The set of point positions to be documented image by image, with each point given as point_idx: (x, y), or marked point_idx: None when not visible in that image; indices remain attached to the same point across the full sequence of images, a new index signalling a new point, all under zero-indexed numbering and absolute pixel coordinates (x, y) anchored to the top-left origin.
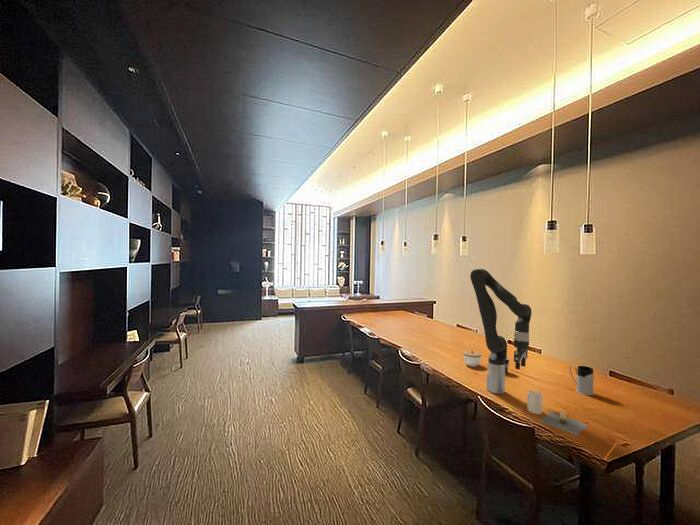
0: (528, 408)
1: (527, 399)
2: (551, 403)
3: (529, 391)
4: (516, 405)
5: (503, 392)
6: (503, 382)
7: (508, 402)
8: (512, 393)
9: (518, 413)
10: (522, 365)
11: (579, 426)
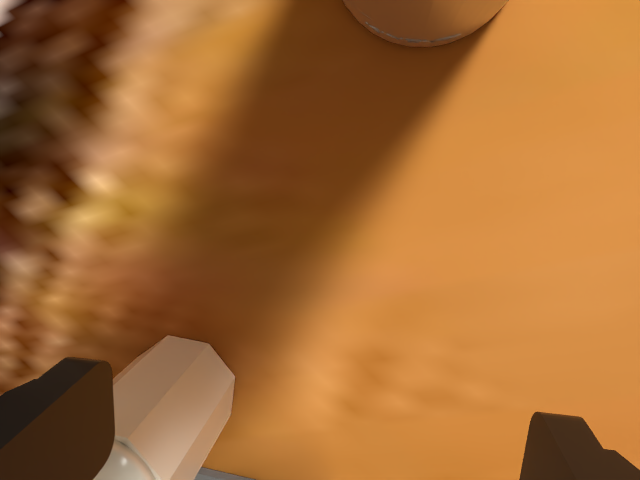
0: (138, 359)
1: (113, 384)
2: (486, 470)
3: None
4: (201, 239)
5: (399, 42)
6: (396, 16)
7: (211, 162)
8: (490, 120)
9: (62, 291)
10: (532, 460)
11: None
